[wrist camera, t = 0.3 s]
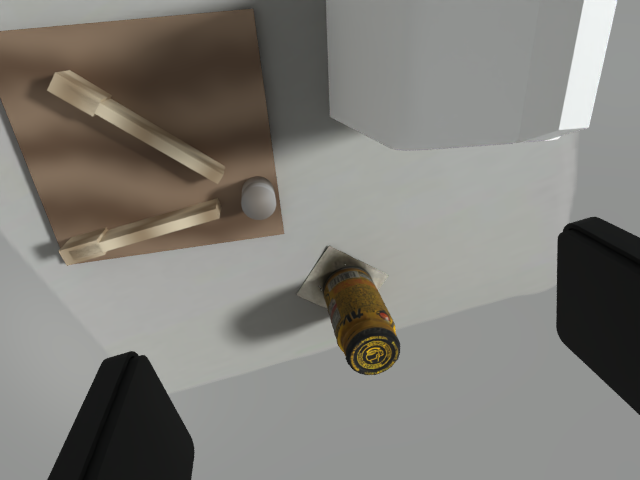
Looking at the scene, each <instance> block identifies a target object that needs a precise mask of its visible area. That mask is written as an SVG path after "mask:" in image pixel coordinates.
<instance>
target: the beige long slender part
mask: <svg viewBox="0 0 640 480" xmlns="http://www.w3.org/2000/svg"><path fill="white" fill-rule="evenodd" d="M241 206H242V209H243V211H244V213H245V214H246V215H247V216H248V217H250V218H252V219H255V220H263V219H266V218H268V217H270V216H271V215H272V214H273V212H274V211H275V208H276V198H275V192H274V187H273V185H272V183H271V182H270V181H269V180H268V179H266V178H264V177H261V176H254V177H251V178H249V179H248V180H247V181H246V182H245V183H244V185H243V187H242V199H241ZM220 212H221V205H220V203H219V200H218V198H217V199H214V200H210V201H207V202H203V203H200V204H196V205H193V206H189V207H186V208H182V209H179V210H175V211H172V212H169V213H165V214H162V215H158V216H155V217H151V218H148V219H144V220H141V221H137V222H134V223H130V224H127V225H124V226H120V227H117V228H113V229H110V230H108V229H107V227H106V228H103V229H99V230H96V231H92V232H89V233H85V234H82V235H78V236H75V237H71V238H70V239H69V240H68V241H67V242H66V243H65V244H64V246H63V247H62V248H61V249H60V250H59V251H58V252H59V253H60V255H61V256H62V258H63V260H64V261H65V263H66V265H67V266H68V265H72V264H75V263H79V262H82V261H86V260H89V259H92V258H96V257H99V256H103V255H105V254H106V252H107V251H109V250H112V249H116V248H119V247H123V246H126V245H130V244H133V243H137V242H140V241H143V240H147V239H150V238H154V237H157V236H161V235H164V234H168V233H171V232H174V231H178V230H181V229H185V228H188V227H192V226H195V225H198V224H202V223H205V222H209V221H212V220H216V219H219V218H220Z"/></svg>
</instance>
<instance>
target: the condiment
mask: <svg viewBox="0 0 640 480" xmlns="http://www.w3.org/2000/svg"><path fill="white" fill-rule="evenodd" d="M345 264H346V265H345ZM388 276H389V275H387V274H385V273H383V272H381V271H379V270H377V269H375V268H373V267H371V266H370V265H368V264H365V263H364V262H361V261H359V260H357V259H355V258H353V257H351V256H349V255H347V254H345V253H343V252H341V251H339V250H337V249H335V248H333V247H331V246H329V247H328V248H327V250H326V251H325V252H324V254H323V255H322V257H321V258H320V260H319V261H318V263H317V264H316V265H315V267H314V268H313V270H312V272H311V273H310V274H309V276H308V278H307V279H306V281H305V282H304V284H303V285H302V287H301V288H300V290H299V291H298V293H297V294H296V295H297V296H299V297H301V298H303V299H306V300H308V301H310V302H313V303H315V304H317V305H319V306H322V307H324V308H327V309H328V312H329V315H330V319H331V323H332V326H333V329H334V333H335V336H336V339H337V344H338V346H339V347H340V349H341V350H342V351H343V352H344V354H345V356H346V360H347V362H348V364H349V365H350V366H351V368H352V369H353V370H354V371H356V372H358V373H360V374H364V375H376V374H379V373H382V372H384V371H386V370H388V369H389V368H390V367H392V365H393V364H394V363H395V362H396V360H397V359H398V357H399V353H400V342H399V340H398V338H397V336H396V333H395V325H394V322H393V320H392V318H391V316H390V314H389V312H388V310H387V308H386V306H385V303H384V302H383V300H382V298H381V296H380V294H379V292H378V289H379V288H380V287H381V285H382V284H383V283H384V281H385V280H386V279H387V277H388ZM319 286H321V288H320V287H319ZM321 289H322V291H321Z"/></svg>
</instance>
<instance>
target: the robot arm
mask: <svg viewBox="0 0 640 480" xmlns="http://www.w3.org/2000/svg"><path fill="white" fill-rule="evenodd" d="M556 324H557V325H556V327H557V332H558V335H559V337H560V339H561V341H562V342H563V343H564V344H565V345H566V346H567V347H568V348H569V349H570V350H571V351H572V352H573V353H574V354H575V355H577V356H578V357H579V358H580V359H581V360H582V361H583V362H584V363H585V364H586V365H587V366H588V367H589V368H591V369H592V371H594V372H595V373H596V374H597V375H598V376H599V377H600V378H601V379H602V380H603V381H604V382H605V383H606V384H607V385H609V387H611V388H612V389H613V390H614V391H615V392H616V393H617V394H618V395H619V396H620V397H621V398H622V399H623V400H624V401H625V402H627V403H628V404H629V405H630V406H631V407H632V408H633V409H634V410H635V411H636V412H637V413H638V414H639V415H640V238H639V237H637V236H635V235H633V234H631V233H629V232H627V231H625V230H623V229H621V228H619V227H617V226H615V225H613V224H610V223H608V222H606V221H604V220H602V219H600V218H597V217H590V218H587V219H583V220H580V221H577V222H573V223H569V224H567V225H566V226H565V227H564V229H563V232H562V233H560V234H559V236H558V253H557V322H556ZM193 461H194V445H193V441H192V438H191V436H190V434H189V432H188V430H187V429H186V427H185V425H184V423H183V421H182V420H181V418H180V416H179V414H178V413H177V411H176V409H175V407H174V405H173V403H172V401H171V400H170V398H169V396H168V394H167V392H166V390H165V389H164V387H163V385H162V383H161V381H160V380H159V378H158V376H157V374H156V372H155V370H154V369H153V367H152V365H151V363H150V361H149V360H148V358H147V357H146V356H145V355H141V356H138V354H137V353H135V352H133V351H131V352H127V353H124V354H120V355H117V356H113V357H110V358H107V359H105V360H104V361H103V362H102V364H101V366H100V368H99V370H98V372H97V374H96V377H95V379H94V381H93V383H92V385H91V387H90V389H89V391H88V394H87V396H86V398H85V400H84V402H83V404H82V407H81V409H80V411H79V413H78V415H77V417H76V419H75V422H74V424H73V426H72V428H71V430H70V432H69V435H68V437H67V439H66V441H65V443H64V445H63V447H62V449H61V452H60V454H59V456H58V458H57V460H56V462H55V465H54V467H53V469H52V471H51V473H50V475H49V477H48V480H191V476H192V468H193Z"/></svg>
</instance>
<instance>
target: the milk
mask: <svg viewBox="0 0 640 480" xmlns="http://www.w3.org/2000/svg"><path fill="white" fill-rule="evenodd" d="M616 4H617V0H326V18H327V47H328V77H329V107H330V117H331V118H333V119H335V120H337V121H339V122H341V123H343V124H344V125H346V126H348V127H350V128H352V129H354V130H356V131H358V132H360V133H362V134H364V135H366V136H368V137H370V138H372V139H374V140H376V141H377V142H379V143H381V144H383V145H385V146H387V147H389V148H392V149H395V150H431V149H445V148H459V147H473V146H487V145H500V144H513V143H521V142H536V141H548V140H554V139H559V138H560V136H563V135H566V134H569V133H573V132H576V131H579V130H582V129H586V128H589V124H590V119H591V115H592V110H593V106H594V102H595V97H596V93H597V88H598V84H599V80H600V75H601V71H602V66H603V62H604V57H605V53H606V48H607V44H608V39H609V35H610V31H611V26H612V22H613V17H614V13H615V8H616Z"/></svg>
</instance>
